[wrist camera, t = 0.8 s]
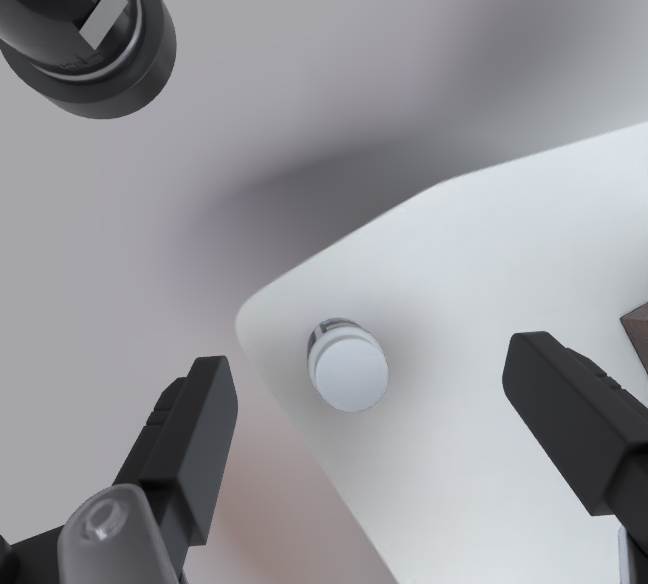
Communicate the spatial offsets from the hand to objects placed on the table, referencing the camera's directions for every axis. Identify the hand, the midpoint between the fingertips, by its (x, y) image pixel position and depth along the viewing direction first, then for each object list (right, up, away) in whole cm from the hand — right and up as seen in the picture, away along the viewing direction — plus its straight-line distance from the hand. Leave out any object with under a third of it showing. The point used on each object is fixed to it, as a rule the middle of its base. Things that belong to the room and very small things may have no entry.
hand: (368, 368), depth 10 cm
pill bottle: (0, -2, +17) cm, 17 cm away
